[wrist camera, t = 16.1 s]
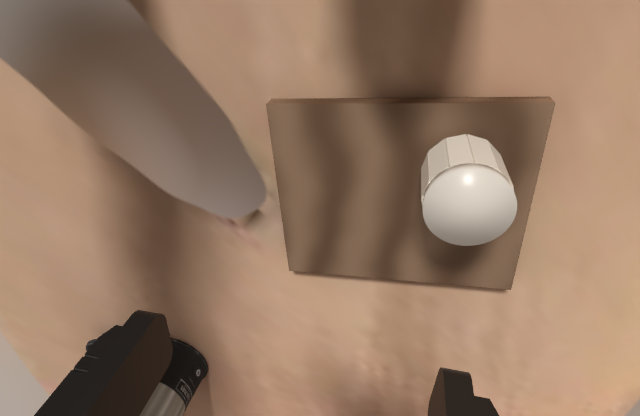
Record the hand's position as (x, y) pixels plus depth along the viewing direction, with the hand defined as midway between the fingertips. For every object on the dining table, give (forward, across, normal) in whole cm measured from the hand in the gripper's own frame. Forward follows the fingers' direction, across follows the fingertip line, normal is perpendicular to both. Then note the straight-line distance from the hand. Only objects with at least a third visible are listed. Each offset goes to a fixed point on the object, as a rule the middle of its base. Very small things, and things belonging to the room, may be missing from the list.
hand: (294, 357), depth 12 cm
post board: (+26, -3, +9) cm, 27 cm away
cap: (+23, -8, +4) cm, 25 cm away
